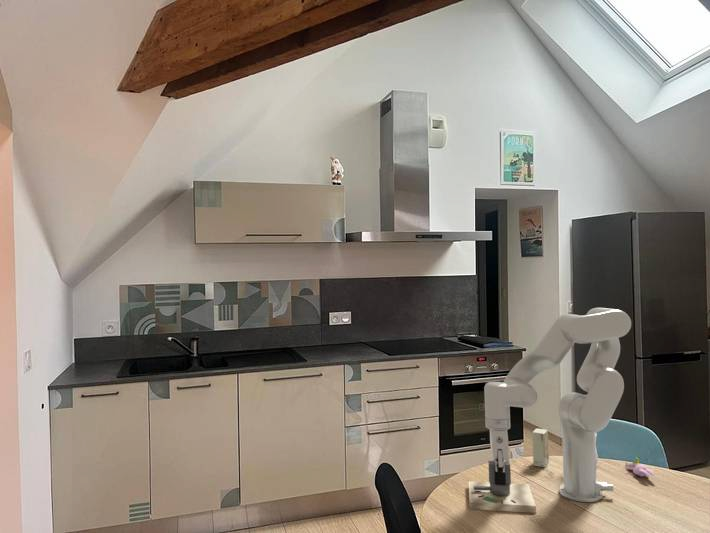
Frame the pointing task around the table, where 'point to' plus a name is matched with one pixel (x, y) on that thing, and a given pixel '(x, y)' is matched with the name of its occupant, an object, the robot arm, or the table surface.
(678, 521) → the table surface
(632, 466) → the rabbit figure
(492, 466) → the knob
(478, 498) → the dial board
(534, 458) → the skincare box
